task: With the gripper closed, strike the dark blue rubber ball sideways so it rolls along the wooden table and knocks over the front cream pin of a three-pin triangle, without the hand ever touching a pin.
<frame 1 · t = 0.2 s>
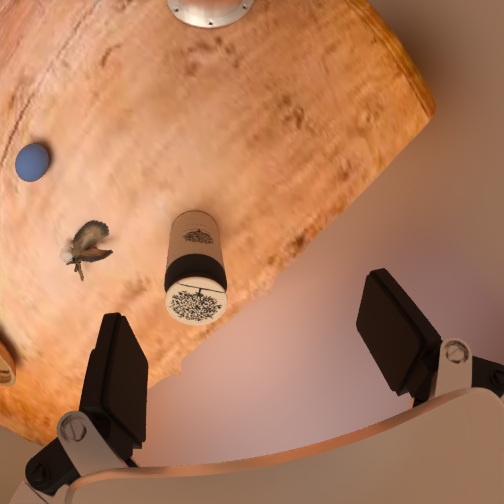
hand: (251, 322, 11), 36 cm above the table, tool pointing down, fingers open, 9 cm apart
ball: (31, 162, 33), on the table
travel mug: (194, 231, 48), on the table
eagle figurine: (92, 241, 46), on the table
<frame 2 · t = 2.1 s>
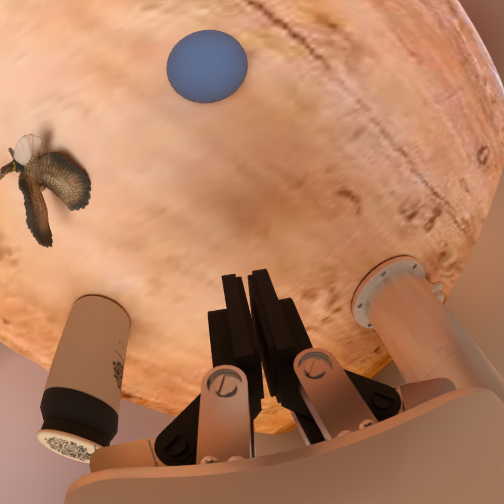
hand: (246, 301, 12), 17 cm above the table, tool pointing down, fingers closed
ball: (206, 66, 18), on the table
travel mug: (101, 317, 32), on the table
eagle figurine: (53, 176, 23), on the table
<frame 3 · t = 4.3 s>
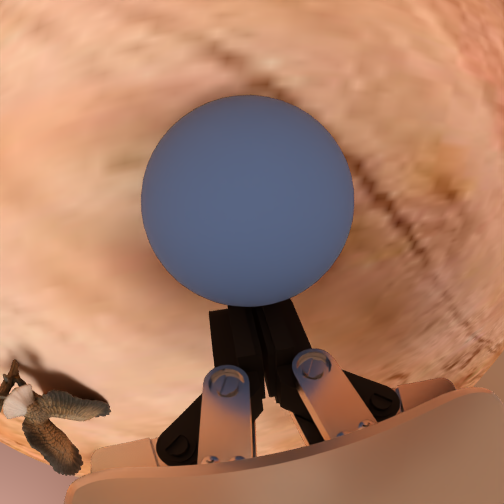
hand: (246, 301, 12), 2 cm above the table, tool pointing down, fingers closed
ball: (247, 200, 8), on the table
eagle figurine: (56, 387, 16), on the table
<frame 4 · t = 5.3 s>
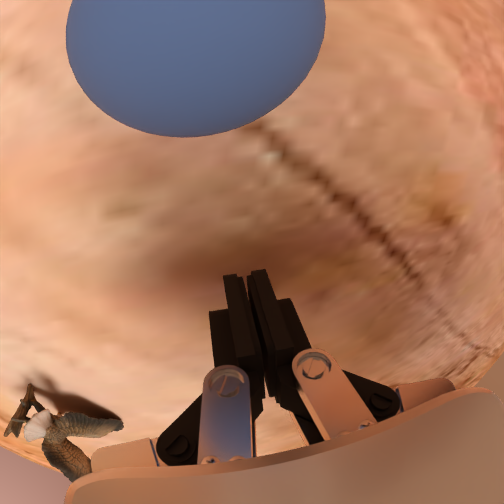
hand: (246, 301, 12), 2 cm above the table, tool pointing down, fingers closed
ball: (194, 21, 5), on the table
eagle figurine: (70, 406, 17), on the table
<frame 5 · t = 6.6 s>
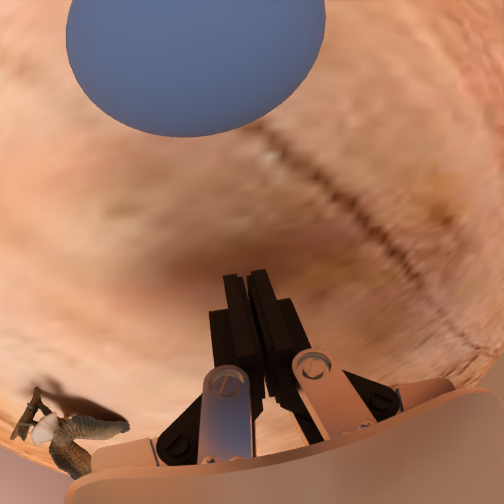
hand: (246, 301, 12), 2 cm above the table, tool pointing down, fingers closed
ball: (194, 21, 5), on the table
eagle figurine: (77, 409, 18), on the table
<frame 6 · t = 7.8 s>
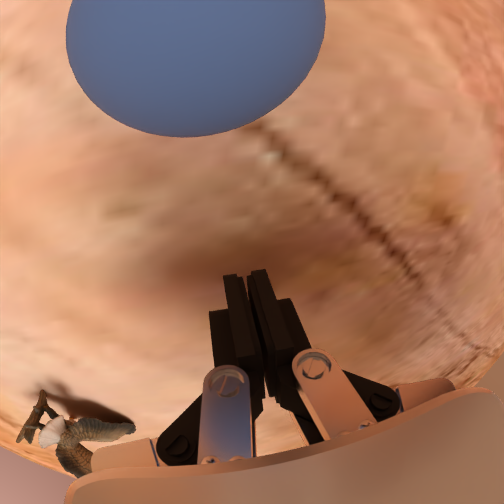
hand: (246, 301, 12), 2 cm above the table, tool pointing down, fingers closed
ball: (194, 21, 5), on the table
eagle figurine: (83, 411, 18), on the table
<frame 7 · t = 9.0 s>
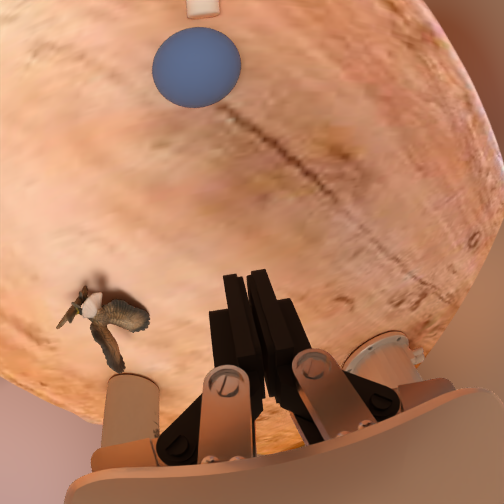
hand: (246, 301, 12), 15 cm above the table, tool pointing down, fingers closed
ball: (196, 67, 16), on the table
travel mug: (133, 386, 38), on the table
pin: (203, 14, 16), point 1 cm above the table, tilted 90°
eagle figurine: (111, 307, 29), on the table
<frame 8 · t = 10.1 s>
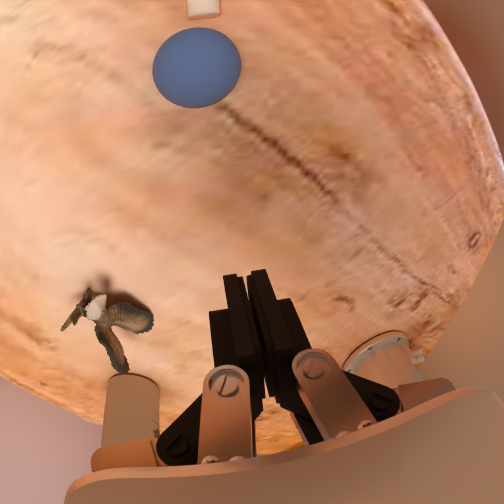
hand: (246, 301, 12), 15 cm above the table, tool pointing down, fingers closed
ball: (196, 67, 16), on the table
travel mug: (133, 386, 38), on the table
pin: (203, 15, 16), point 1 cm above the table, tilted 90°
eagle figurine: (115, 309, 30), on the table
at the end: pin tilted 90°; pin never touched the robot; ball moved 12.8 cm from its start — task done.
